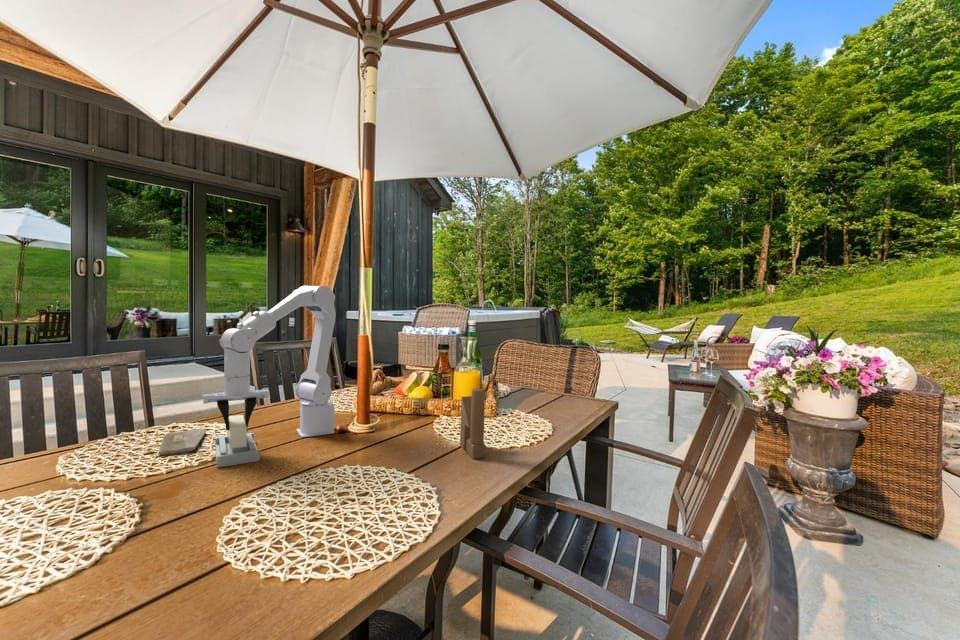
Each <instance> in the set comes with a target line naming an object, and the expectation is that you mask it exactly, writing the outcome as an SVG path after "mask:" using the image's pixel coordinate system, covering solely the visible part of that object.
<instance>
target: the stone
mask: <svg viewBox="0 0 960 640" xmlns="http://www.w3.org/2000/svg"><path fill="white" fill-rule="evenodd" d="M206 433H207V429H205V428H204V429H203V428H202V429H201V428H199V429H189V430H183V431H175V432H174V431H173V432H170V433H165V434H164V435H163V437H162V441H161V444H160V446H159V450H158V454H159V455H162V456H170V455H177V454H178V455H181V454H187V453H190V452H193V451H194V450H196V448H197V447H198V446H199V444H200V443H201V441H202V440H203V437H204V436H205V434H206Z"/></svg>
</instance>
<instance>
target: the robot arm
mask: <svg viewBox="0 0 960 640" xmlns="http://www.w3.org/2000/svg"><path fill="white" fill-rule="evenodd" d="M335 301H336V295H335V293H334V292H333V291H332V289H331V288H330V287H329V286H328V285H306V284H305V285H302V286H300V287H298V288H297V289H293V291H292V293H290V294H289V295H288V296H286V298H284V299H282V300H281V301H280V302H278V303H277V304H276V305H274V307H272V308H271V309H269V310H267V311H265V310H260V311H258V310H257V311H253V312H252V314H251V315H252V316H250V317H249V318H247V319H246V320H244V321H243V322H238V323H237V324H236V328H235V327H234V328H231V327H230V328H229V329H228V328H227V329H226V330H225V331H224V332H223V333H222V335H221V338H220V339H218V341H219V344H220V346H221V348H222V349H223V351H224V352H223V353H224V360H223V362H224V363H223V369H224V370H223V371H224V372H223V391H222V392H214V393H205V394H203V395H202V397H203V399H202V403H203V404H206V405H207V404H209V403H216V404H217V405H216V406H217V408H218V410H219V411H220V414H221V416H222V418H223V421H224V424H225V431H228V430H229V416H230V404H229V402H233V401H244V416H243V417H244V420H245V423H246V426H247V429H248V428H249V423H250V419H251V416H252V414H253V411H254V409H255V407H256V406H257V403H258V400H257V399H269V398H270V390H269V389H251V350H252V349H253V348H254V347H255V346H256V342H257V341H258V340H260V339H261V338H263V337H264V336H265V335H267V334H268V333H269V332H271V331H273V330H274V329H275V328H276V324H277V321H280V320H281V319H282V318H284V317H286V316H287V315H289V314H290V313H292V312H294V311H295V310H297V309H299V308H300V307H303V308H305V309H306V310H308V311H309V312H310V313H311V314H312V315H313V317H314V318H315V323H314V329H313V333H312V340H311V346H310V351H309V356H308V362H307V363H308V364H307V368H306V370H304V372H303V373H302V374H301V375H300V378H299V381H298V382H297V385H296V387H295V391H294V392H295V396H296V397H297V398H298V400H299V403H300V406H299V407H300V408H299V412H300V414H299V418H300V419H299V428H296V432H297V433H298V435H299V436H300V438H308V437H314V436H316V437H317V436H323V435H330V434H335V432H336V431H335V405H334V403H333V402H332V401H329V400H331V397H332V394H333V393H332V392H333V391H332V387H331V383H332V379H331V377H330V375H329V374H328V373H327V370H328V362H329V356H330V352H331V347H332V340H333V334H334V328H335V324H336V323H335V322H336V316H337V312H336V308H335Z"/></svg>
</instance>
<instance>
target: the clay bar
mask: <svg viewBox="0 0 960 640" xmlns="http://www.w3.org/2000/svg"><path fill="white" fill-rule="evenodd" d="M244 417H245V416H244V414H239V415H229V430H227V436H228V440H229V445H230V449H233V448H240V447H246V444H247V433H248V432H247V431H248V428H247V426H246V423H245V420H244Z"/></svg>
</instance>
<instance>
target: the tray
mask: <svg viewBox="0 0 960 640" xmlns="http://www.w3.org/2000/svg"><path fill="white" fill-rule="evenodd" d="M254 437H255V436H254V432H247V444H246V447H240V448H233V449H230V445H229V440H228V435H219V436H217V437H215V442H214V445H215V458H216V468H224V467H228V466H230V467H231V466H235V465H241V464H248V463H254V462H259V461H260V459H261V458H260V457H261V454H260V453H261V450H260V449H258V447H257V445H256V442H255V439H254Z"/></svg>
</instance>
